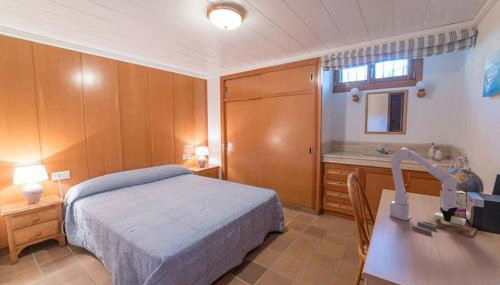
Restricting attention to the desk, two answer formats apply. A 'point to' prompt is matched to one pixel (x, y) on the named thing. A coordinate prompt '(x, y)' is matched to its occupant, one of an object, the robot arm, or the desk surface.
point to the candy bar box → (460, 201)
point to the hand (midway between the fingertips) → (448, 220)
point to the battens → (423, 228)
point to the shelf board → (453, 218)
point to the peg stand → (451, 226)
